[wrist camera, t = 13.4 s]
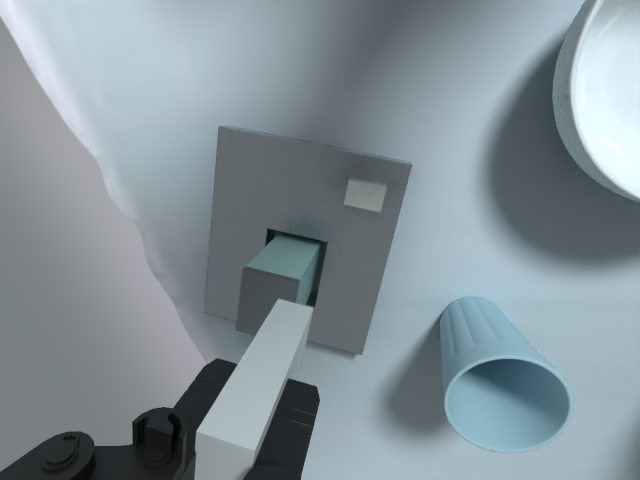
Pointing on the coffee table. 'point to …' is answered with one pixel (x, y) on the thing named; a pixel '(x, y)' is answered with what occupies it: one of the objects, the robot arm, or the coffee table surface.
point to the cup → (498, 381)
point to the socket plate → (305, 224)
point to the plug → (276, 279)
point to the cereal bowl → (602, 93)
